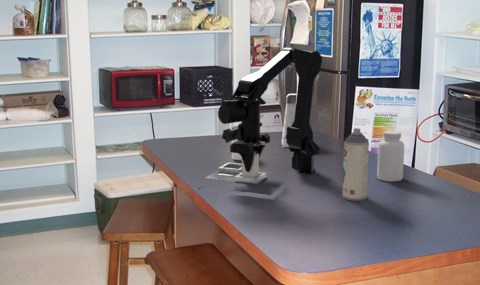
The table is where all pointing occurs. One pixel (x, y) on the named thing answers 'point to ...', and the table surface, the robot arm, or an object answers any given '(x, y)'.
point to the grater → (288, 120)
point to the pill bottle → (390, 157)
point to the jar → (236, 155)
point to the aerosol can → (355, 167)
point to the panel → (237, 174)
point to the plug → (252, 168)
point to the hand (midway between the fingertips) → (250, 170)
